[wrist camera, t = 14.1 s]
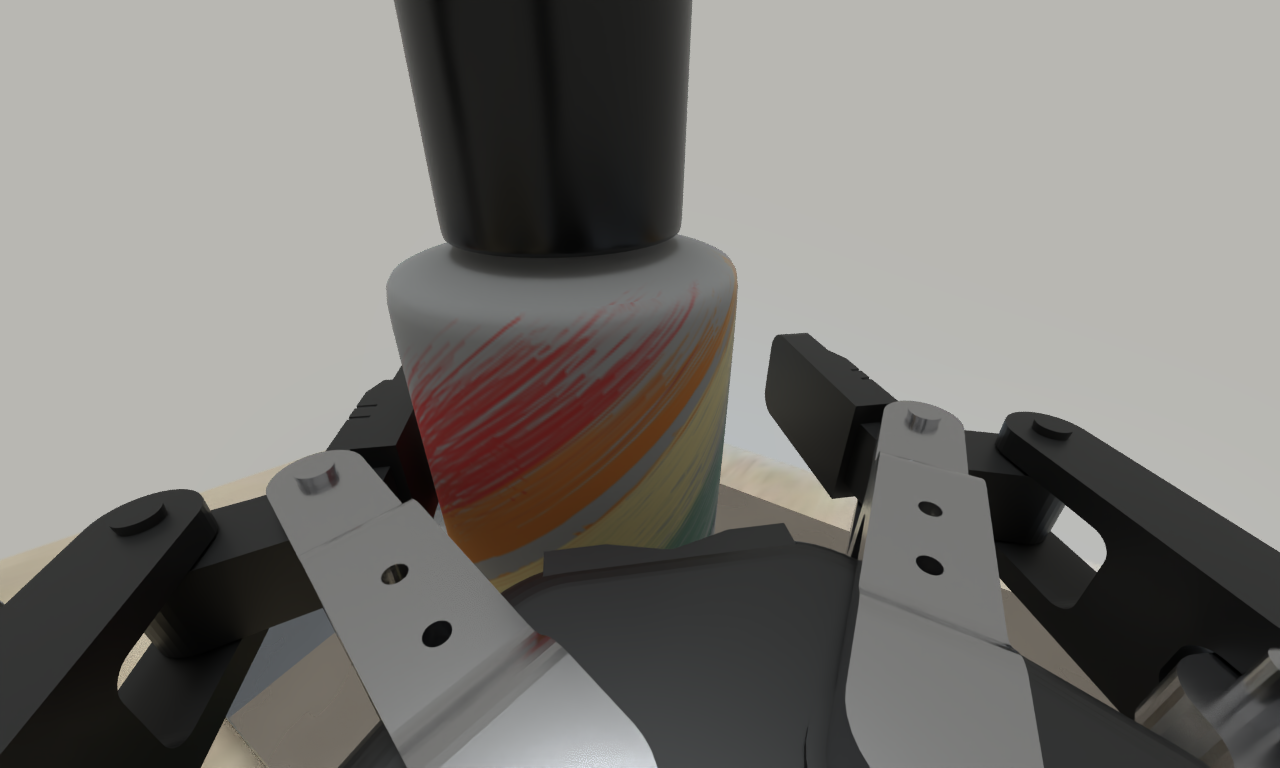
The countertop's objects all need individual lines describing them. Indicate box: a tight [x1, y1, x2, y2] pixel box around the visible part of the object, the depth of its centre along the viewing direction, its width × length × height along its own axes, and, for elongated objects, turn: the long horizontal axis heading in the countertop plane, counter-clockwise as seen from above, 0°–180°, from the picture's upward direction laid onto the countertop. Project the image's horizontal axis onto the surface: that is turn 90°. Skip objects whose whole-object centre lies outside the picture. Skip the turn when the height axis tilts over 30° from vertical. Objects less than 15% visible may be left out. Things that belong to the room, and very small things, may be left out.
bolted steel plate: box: [225, 484, 1118, 768], centre depth 14 cm, size 24×14×5 cm, turn 59°
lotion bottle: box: [386, 0, 738, 593], centre depth 10 cm, size 6×6×20 cm
